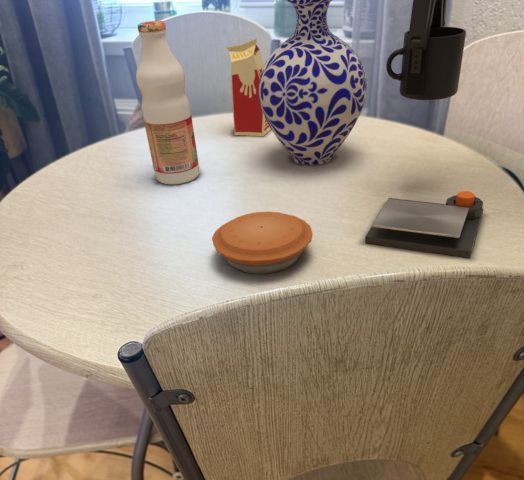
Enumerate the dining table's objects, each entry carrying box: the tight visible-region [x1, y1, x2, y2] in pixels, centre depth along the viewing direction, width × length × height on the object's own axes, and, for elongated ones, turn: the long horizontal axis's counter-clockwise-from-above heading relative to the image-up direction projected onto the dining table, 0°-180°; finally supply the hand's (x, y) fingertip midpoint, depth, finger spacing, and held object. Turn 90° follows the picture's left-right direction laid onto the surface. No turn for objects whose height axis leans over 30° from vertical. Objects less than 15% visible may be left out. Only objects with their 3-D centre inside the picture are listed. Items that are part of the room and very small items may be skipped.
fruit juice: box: [135, 20, 200, 185], centre depth 103 cm, size 9×9×28 cm
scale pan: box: [371, 198, 469, 238], centre depth 84 cm, size 13×10×1 cm
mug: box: [385, 26, 467, 101], centre depth 87 cm, size 9×12×9 cm
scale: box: [364, 194, 484, 259], centre depth 86 cm, size 16×15×3 cm
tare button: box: [455, 190, 476, 207], centre depth 87 cm, size 3×3×2 cm
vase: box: [259, 0, 368, 166], centre depth 106 cm, size 22×22×30 cm
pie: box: [211, 211, 314, 275], centre depth 83 cm, size 15×16×5 cm
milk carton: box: [225, 37, 271, 137], centre depth 126 cm, size 9×9×20 cm
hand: (421, 85), depth 90 cm, fingers closed on mug, 9 cm apart
